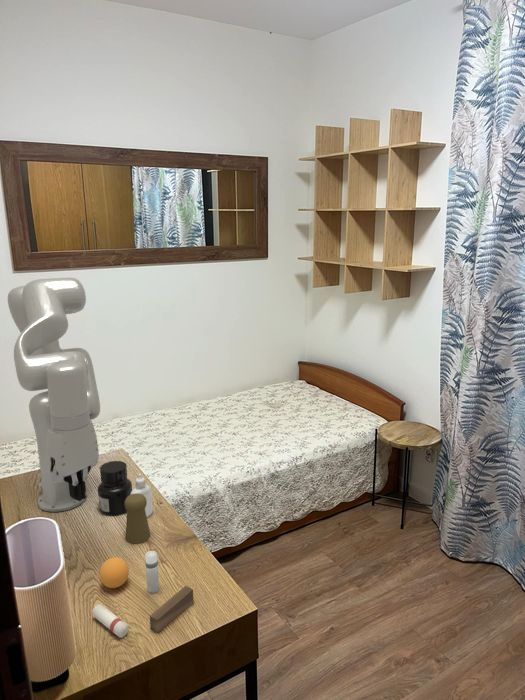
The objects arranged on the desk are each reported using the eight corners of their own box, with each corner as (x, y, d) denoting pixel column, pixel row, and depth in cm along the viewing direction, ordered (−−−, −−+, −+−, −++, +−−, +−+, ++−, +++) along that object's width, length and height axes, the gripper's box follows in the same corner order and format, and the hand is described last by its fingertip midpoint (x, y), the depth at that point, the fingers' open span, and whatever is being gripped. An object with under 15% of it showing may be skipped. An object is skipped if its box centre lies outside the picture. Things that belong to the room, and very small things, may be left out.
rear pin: (144, 590, 110) (142, 555, 107) (153, 583, 112) (151, 548, 109) (153, 595, 108) (150, 559, 106) (161, 588, 110) (159, 553, 108)
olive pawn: (144, 545, 124) (141, 504, 122) (120, 542, 126) (117, 501, 123) (154, 531, 130) (152, 491, 127) (131, 528, 131) (128, 488, 128)
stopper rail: (150, 628, 99) (149, 615, 99) (186, 597, 107) (185, 585, 107) (157, 633, 98) (157, 620, 98) (193, 601, 106) (193, 589, 106)
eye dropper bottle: (154, 518, 136) (152, 476, 133) (132, 522, 134) (129, 480, 131) (151, 509, 140) (149, 468, 137) (130, 513, 138) (127, 472, 135)
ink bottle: (100, 499, 144) (97, 460, 141) (133, 495, 146) (130, 456, 143) (98, 519, 135) (94, 477, 132) (133, 514, 137) (130, 473, 134)
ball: (115, 594, 106) (101, 593, 110) (138, 576, 111) (123, 576, 115) (103, 568, 106) (89, 568, 110) (127, 551, 111) (112, 551, 115)
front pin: (89, 615, 101) (115, 636, 96) (96, 602, 102) (123, 622, 97) (97, 617, 103) (123, 639, 98) (105, 605, 104) (131, 625, 99)
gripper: (88, 405, 117) (95, 479, 122) (27, 427, 105) (37, 508, 110) (111, 412, 113) (117, 488, 118) (49, 436, 101) (58, 519, 106)
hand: (78, 497), depth 114 cm, fingers closed
